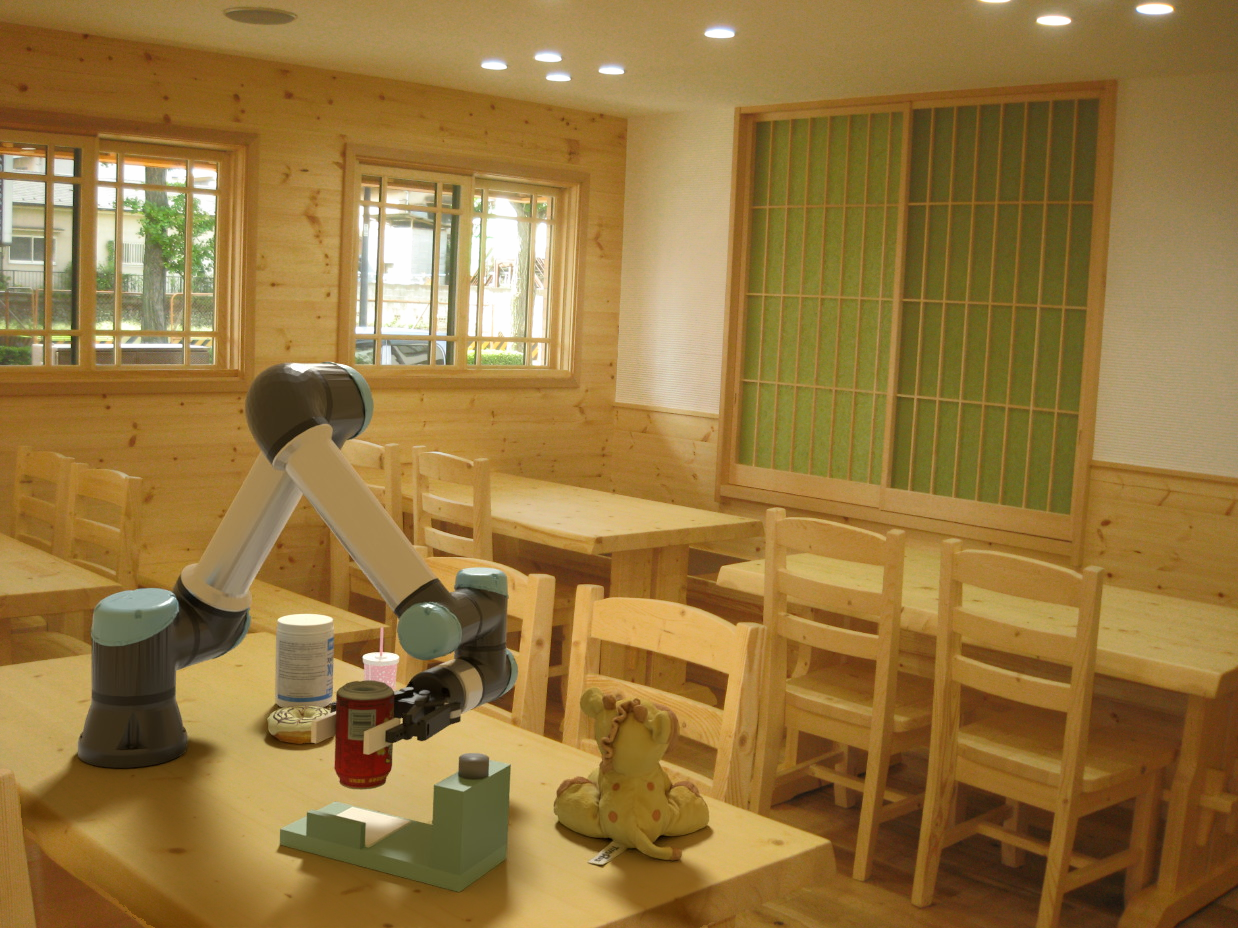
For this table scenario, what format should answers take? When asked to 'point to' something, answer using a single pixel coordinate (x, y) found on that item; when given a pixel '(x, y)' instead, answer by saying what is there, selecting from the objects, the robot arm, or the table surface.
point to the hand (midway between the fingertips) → (339, 737)
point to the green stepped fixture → (420, 830)
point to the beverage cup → (381, 665)
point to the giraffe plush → (630, 781)
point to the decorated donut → (294, 723)
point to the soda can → (362, 733)
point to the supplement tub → (304, 660)
